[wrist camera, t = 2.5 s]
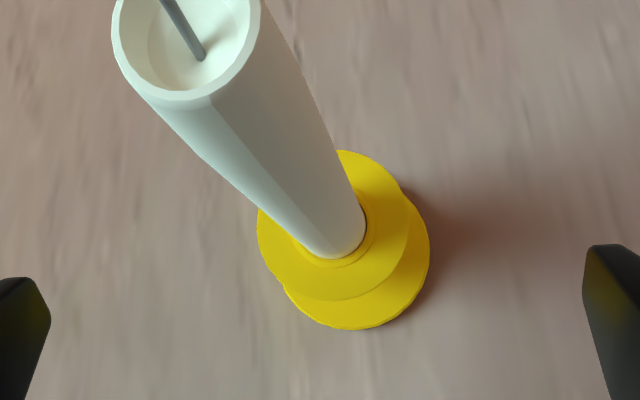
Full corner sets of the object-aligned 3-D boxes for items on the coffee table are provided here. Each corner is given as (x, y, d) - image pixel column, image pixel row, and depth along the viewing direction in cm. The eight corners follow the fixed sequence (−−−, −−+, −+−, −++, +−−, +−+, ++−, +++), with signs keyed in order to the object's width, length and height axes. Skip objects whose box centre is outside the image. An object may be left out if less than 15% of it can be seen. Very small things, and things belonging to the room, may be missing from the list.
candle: (387, 358, 18) (289, 478, 3) (252, 286, 20) (-262, 137, 5) (455, 217, 19) (622, -206, 4) (320, 155, 20) (67, -342, 5)
